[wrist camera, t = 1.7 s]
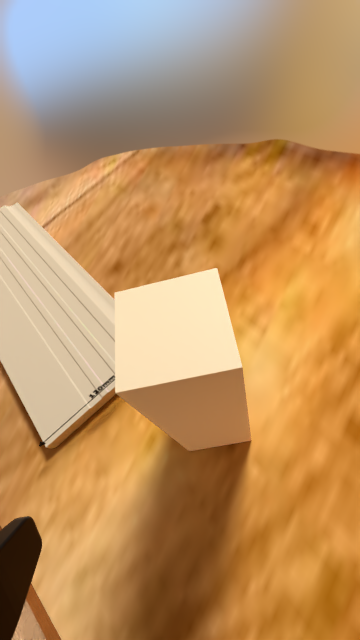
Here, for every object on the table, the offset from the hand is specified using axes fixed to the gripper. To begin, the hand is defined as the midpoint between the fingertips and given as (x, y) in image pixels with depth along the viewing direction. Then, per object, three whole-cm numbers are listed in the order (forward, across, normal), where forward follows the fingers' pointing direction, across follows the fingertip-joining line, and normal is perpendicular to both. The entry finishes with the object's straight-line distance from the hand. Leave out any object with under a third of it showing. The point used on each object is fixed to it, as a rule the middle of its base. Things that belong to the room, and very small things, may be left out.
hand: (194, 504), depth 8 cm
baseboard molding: (+24, +15, -6) cm, 29 cm away
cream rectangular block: (+12, 0, +5) cm, 13 cm away
